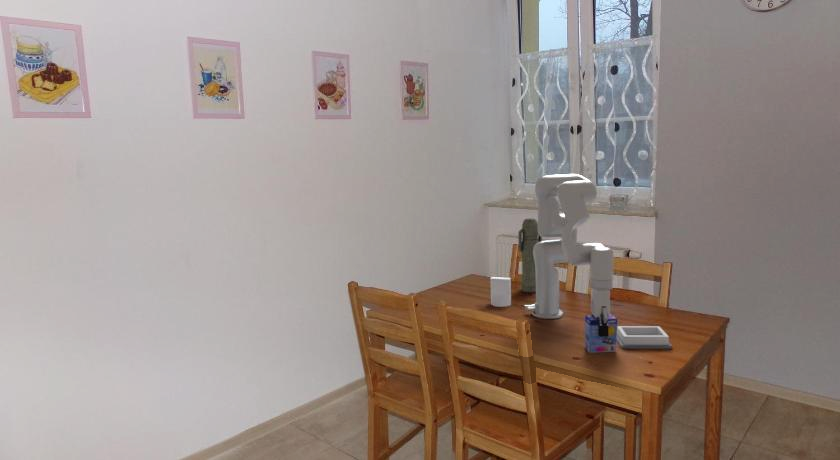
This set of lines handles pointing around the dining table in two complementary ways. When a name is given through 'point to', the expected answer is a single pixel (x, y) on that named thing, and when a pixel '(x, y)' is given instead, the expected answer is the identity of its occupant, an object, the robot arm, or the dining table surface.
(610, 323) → the ink cartridge box
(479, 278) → the dining table surface
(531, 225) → the thermos
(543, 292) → the robot arm
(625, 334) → the socket stand
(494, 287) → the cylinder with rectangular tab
